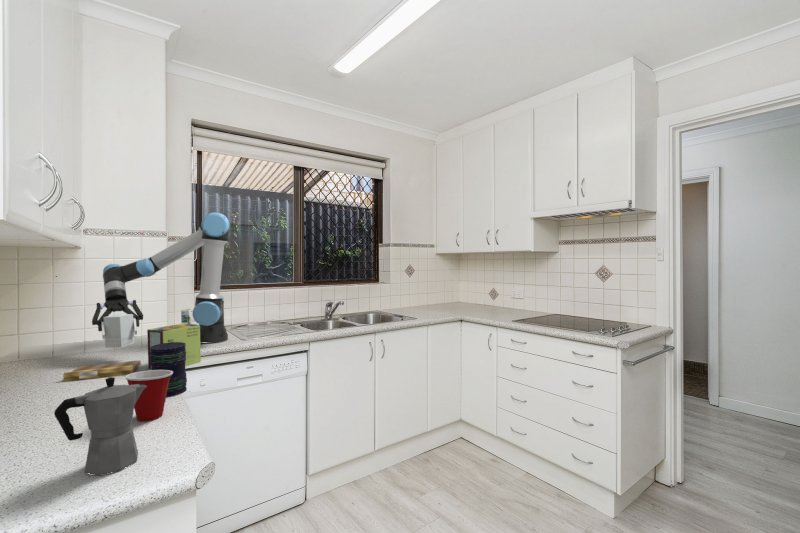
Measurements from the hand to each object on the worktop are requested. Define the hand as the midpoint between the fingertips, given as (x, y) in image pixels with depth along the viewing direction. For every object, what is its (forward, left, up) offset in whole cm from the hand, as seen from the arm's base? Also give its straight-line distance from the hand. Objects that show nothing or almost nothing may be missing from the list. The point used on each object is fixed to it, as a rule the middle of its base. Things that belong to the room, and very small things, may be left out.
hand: (120, 334), depth 156 cm
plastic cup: (-21, +68, -12) cm, 72 cm away
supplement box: (+1, -3, -5) cm, 6 cm away
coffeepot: (-17, +93, -12) cm, 95 cm away
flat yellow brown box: (+2, +12, -12) cm, 17 cm away
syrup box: (-21, -54, -12) cm, 59 cm away
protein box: (-21, +13, -12) cm, 27 cm away
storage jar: (-23, +48, -12) cm, 55 cm away
